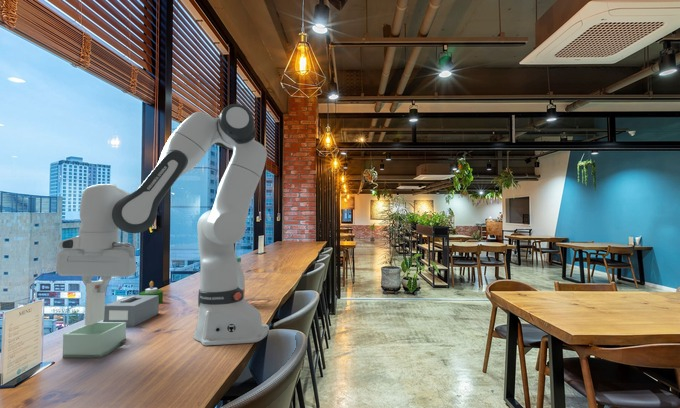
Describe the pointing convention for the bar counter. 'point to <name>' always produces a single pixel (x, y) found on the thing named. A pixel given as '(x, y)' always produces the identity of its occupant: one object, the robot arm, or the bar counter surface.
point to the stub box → (94, 340)
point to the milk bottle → (240, 276)
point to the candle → (153, 292)
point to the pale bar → (94, 303)
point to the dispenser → (132, 309)
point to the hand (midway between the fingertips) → (96, 292)
